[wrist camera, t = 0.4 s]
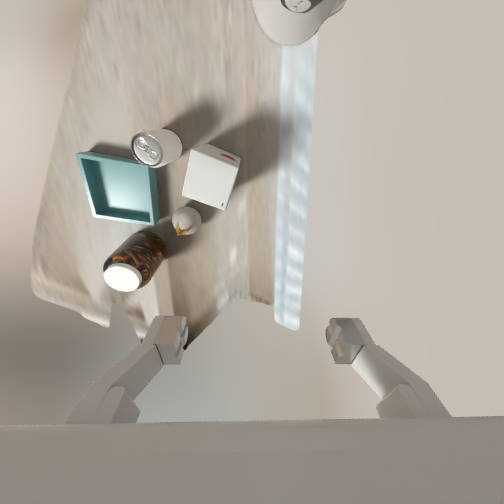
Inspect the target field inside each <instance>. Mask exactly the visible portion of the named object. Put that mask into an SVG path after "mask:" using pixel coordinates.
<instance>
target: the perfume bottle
mask: <svg viewBox="0 0 504 504" xmlns="http://www.w3.org/2000/svg"><path fill="white" fill-rule="evenodd" d="M172 222H173V226H174V228H175V229H176V232H177V235H178V236H179V235H185V234H186V235H189V234H193V233H195V232H196V231H198V229H199V228H200V226H201V216H200V214H199V213H198V212H197V211H196V210H195V209H194V208H191V207H181V208H179V209H177V210H176V211H175V213H174V214H173V217H172Z"/></svg>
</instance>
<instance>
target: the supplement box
mask: <svg viewBox="0 0 504 504" xmlns="http://www.w3.org/2000/svg"><path fill="white" fill-rule="evenodd" d="M240 161H241V158H240V157H238V156H236V155H234V154H231V153H229V152H227V151H224V150H222V149H220V148H217V147H215V146H212V145H210V144H208V143H206V144H203V145H201V146H198V147H195V148H192V149H191V153H190V158H189V163H188V168H187V173H186V178H185V182H184V186H183V191H182V196H185V197H188V198H191V199H193V200H196V201H199V202H201V203H204V204H208V205H210V206H213V207H216V208H219V209H222V210H226V208H227V205H228V202H229V199H230V196H231V193H232V190H233V187H234V184H235V181H236V177H237V174H238V170H239V165H240Z"/></svg>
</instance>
